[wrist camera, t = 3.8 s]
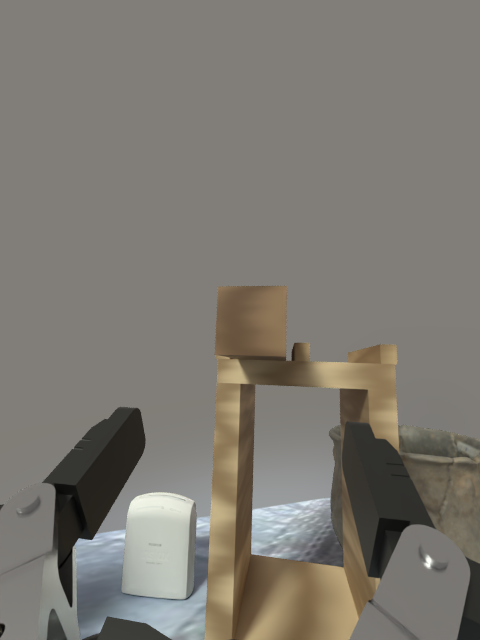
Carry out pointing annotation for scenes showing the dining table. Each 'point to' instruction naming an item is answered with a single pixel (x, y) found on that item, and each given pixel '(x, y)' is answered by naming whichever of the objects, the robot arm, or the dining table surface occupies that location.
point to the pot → (432, 482)
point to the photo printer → (160, 546)
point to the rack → (236, 504)
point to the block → (251, 322)
